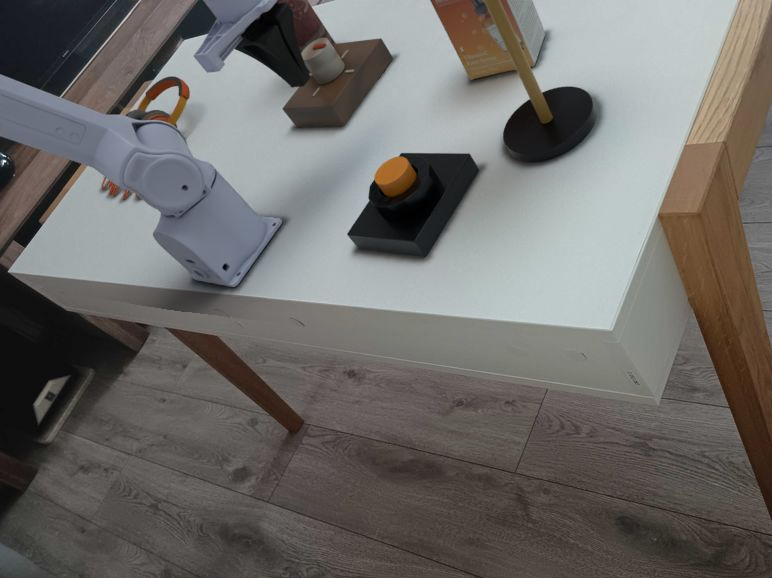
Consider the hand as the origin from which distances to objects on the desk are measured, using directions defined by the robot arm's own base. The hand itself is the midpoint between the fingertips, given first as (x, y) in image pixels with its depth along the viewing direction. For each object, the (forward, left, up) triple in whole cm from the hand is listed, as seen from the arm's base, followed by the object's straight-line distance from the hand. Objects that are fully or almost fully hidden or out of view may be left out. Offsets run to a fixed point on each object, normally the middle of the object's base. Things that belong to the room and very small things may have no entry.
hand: (301, 82), depth 77 cm
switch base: (-7, -14, -10) cm, 19 cm away
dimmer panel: (+11, +10, -10) cm, 18 cm away
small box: (+15, -13, -11) cm, 23 cm away
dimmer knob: (+11, +10, -7) cm, 17 cm away
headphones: (+1, +43, -11) cm, 44 cm away
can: (+18, +20, -11) cm, 29 cm away
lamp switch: (-7, -14, -7) cm, 17 cm away
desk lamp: (+4, -24, -10) cm, 26 cm away
